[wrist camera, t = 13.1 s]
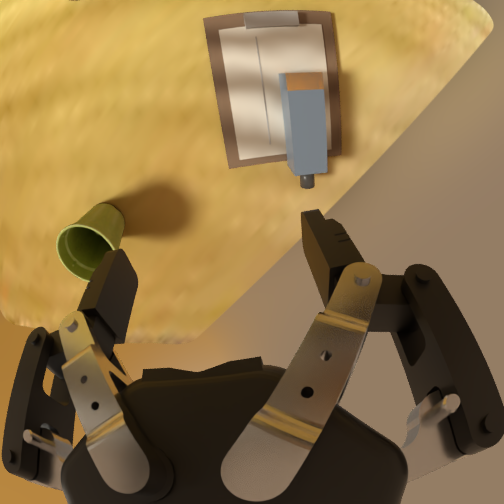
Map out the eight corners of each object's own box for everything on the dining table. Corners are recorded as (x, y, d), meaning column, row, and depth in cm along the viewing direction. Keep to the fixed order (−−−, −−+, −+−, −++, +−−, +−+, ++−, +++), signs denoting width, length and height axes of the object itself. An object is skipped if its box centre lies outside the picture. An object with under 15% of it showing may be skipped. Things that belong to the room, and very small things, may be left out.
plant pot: (140, 245, 40) (126, 284, 33) (89, 246, 39) (69, 282, 32) (130, 190, 34) (109, 222, 27) (74, 195, 33) (47, 226, 26)
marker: (278, 73, 26) (285, 73, 23) (311, 72, 26) (322, 72, 23) (288, 181, 35) (295, 194, 32) (317, 178, 35) (327, 190, 32)
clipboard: (203, 19, 22) (202, 16, 20) (328, 12, 22) (333, 10, 20) (229, 167, 34) (229, 172, 32) (339, 153, 34) (344, 157, 32)
